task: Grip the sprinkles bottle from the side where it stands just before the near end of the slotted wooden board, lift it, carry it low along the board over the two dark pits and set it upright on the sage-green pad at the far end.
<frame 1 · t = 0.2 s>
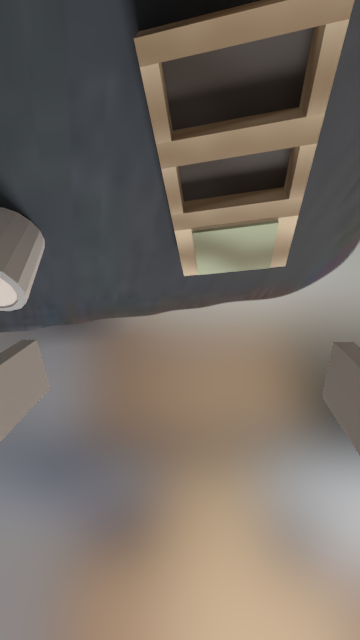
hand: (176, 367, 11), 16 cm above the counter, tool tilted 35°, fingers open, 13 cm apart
grey cup: (14, 232, 24), on the counter
slotted wooden board: (232, 176, 19), on the counter
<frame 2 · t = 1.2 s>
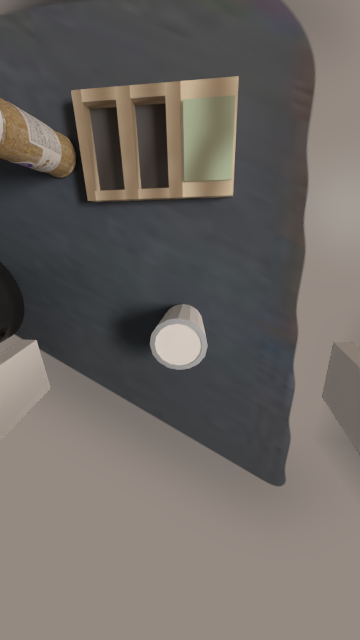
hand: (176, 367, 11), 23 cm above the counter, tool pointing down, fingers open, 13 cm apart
grey cup: (183, 322, 35), on the counter
slotted wooden board: (158, 150, 27), on the counter
sprinkles bottle: (60, 156, 29), on the counter
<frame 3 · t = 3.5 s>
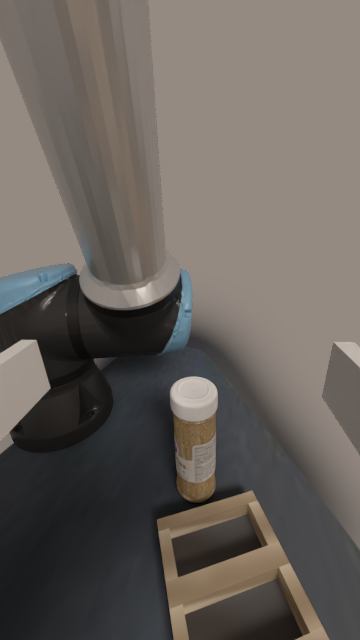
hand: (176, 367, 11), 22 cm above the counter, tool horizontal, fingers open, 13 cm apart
sprinkles bottle: (196, 485, 28), on the counter
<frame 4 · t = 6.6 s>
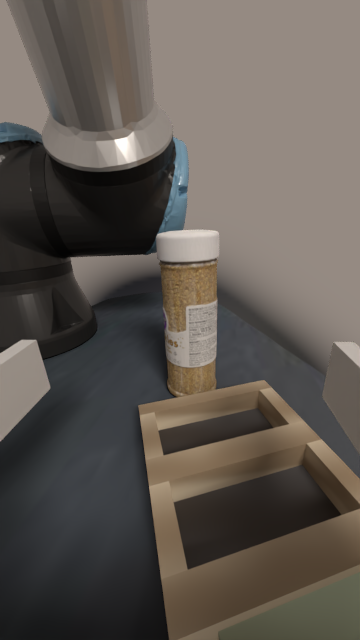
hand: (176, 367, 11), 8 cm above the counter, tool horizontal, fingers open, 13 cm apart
slotted wooden board: (262, 531, 12), on the counter
sprinkles bottle: (192, 388, 23), on the counter
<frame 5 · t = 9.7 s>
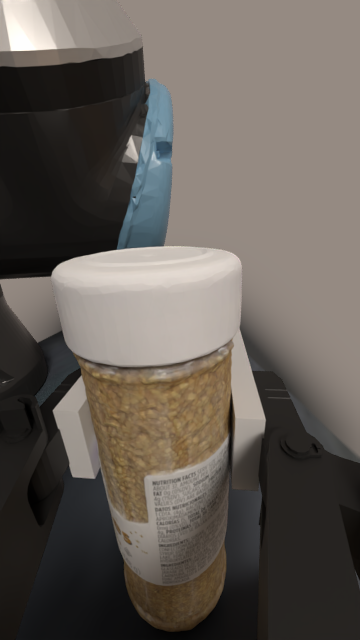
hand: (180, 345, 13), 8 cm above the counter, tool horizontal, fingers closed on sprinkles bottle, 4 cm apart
sprinkles bottle: (176, 562, 11), on the counter, touching gripper
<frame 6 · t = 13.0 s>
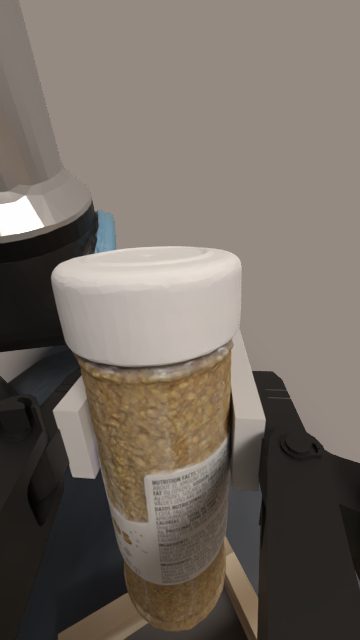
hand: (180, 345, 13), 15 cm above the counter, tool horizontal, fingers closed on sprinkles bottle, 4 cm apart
sprinkles bottle: (176, 562, 11), point 7 cm above the counter, touching gripper
when the fingers open (11 cm above the counter, at t = 16.5 s): sprinkles bottle stays where it is, resting on slotted wooden board.
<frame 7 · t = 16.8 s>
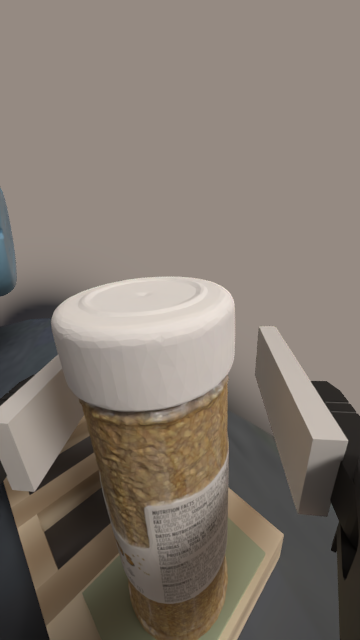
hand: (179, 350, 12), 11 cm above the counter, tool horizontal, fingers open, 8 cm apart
slotted wooden board: (121, 512, 16), on the counter
sprinkles bottle: (179, 574, 11), point 2 cm above the counter, touching slotted wooden board
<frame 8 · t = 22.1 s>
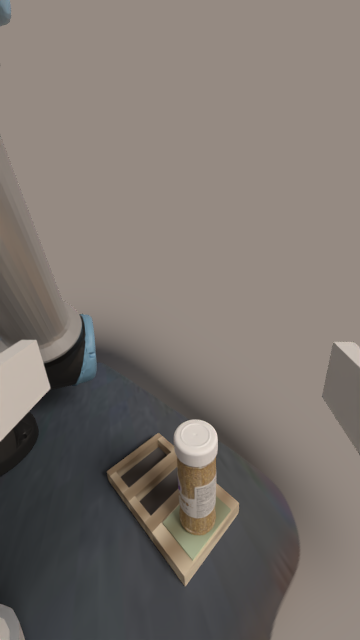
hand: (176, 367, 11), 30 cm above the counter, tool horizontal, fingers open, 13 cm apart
slotted wooden board: (169, 495, 35), on the counter
sprinkles bottle: (197, 517, 30), point 2 cm above the counter, touching slotted wooden board
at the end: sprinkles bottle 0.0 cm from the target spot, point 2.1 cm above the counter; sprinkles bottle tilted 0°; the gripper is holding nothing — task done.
